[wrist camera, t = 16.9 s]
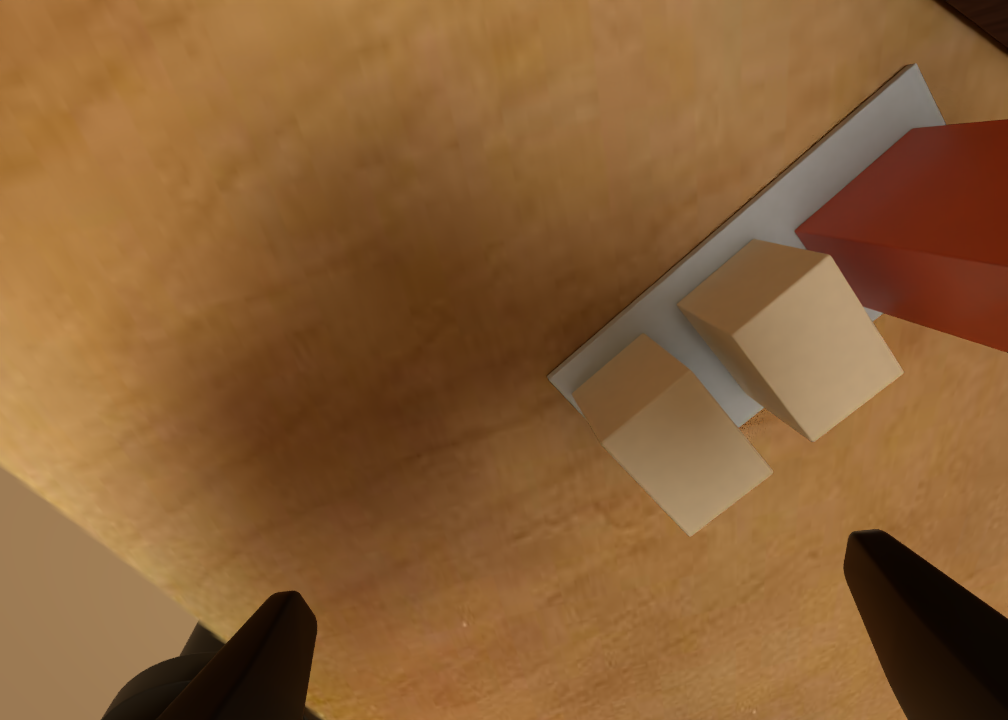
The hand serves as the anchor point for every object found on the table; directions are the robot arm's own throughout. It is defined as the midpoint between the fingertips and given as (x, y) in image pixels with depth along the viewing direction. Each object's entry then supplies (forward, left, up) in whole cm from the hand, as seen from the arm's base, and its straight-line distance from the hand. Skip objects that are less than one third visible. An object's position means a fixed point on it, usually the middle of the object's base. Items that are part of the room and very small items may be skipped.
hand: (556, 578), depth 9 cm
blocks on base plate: (+9, -6, -12) cm, 16 cm away
